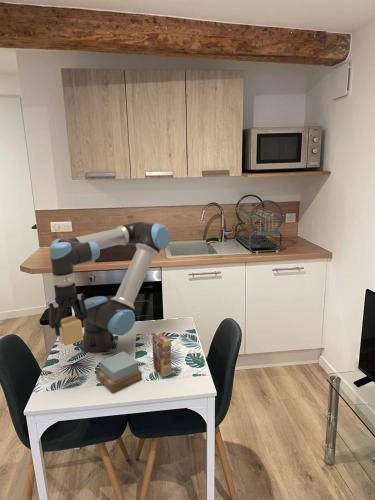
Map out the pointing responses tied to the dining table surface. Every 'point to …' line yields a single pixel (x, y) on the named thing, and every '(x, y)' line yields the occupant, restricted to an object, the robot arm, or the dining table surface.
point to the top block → (119, 366)
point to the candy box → (161, 354)
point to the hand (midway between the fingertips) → (71, 338)
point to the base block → (120, 383)
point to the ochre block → (71, 330)
